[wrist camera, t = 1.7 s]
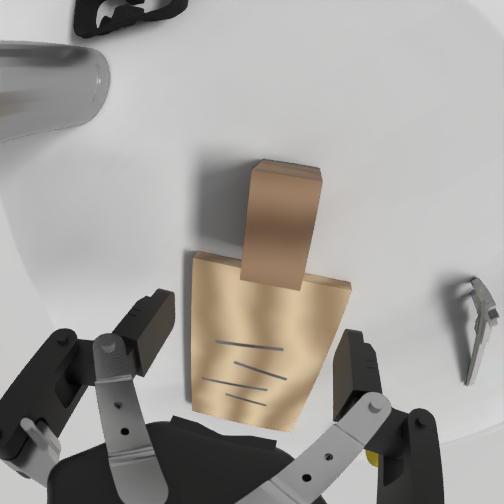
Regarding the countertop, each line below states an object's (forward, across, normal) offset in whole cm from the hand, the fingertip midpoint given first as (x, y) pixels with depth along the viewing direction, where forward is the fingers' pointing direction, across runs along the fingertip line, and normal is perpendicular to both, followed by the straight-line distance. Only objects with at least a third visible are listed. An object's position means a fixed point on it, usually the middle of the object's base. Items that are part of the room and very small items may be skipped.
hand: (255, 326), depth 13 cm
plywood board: (+16, 0, +20) cm, 25 cm away
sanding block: (+16, 0, 0) cm, 16 cm away
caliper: (+16, -28, +11) cm, 34 cm away
